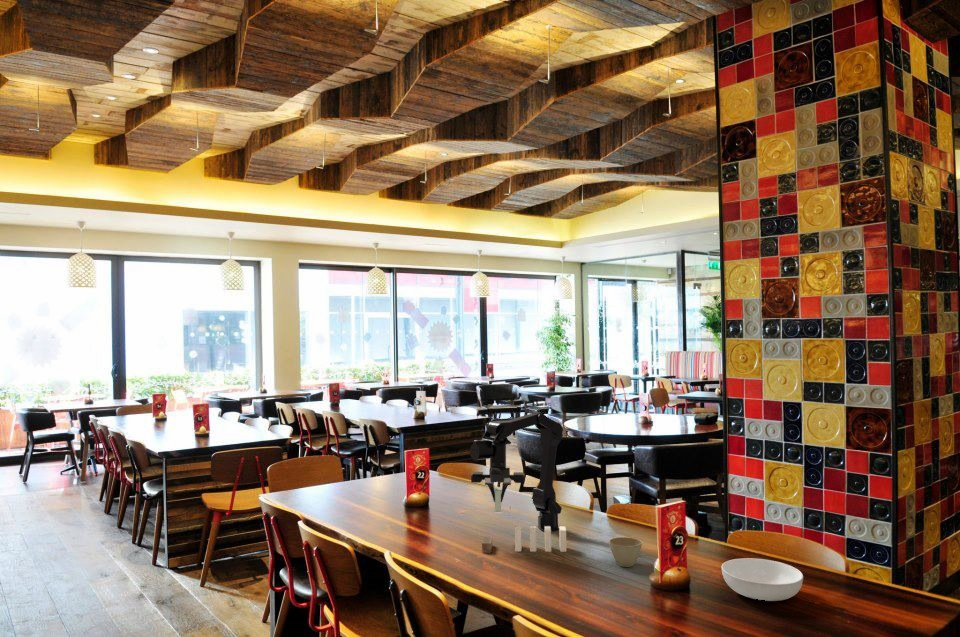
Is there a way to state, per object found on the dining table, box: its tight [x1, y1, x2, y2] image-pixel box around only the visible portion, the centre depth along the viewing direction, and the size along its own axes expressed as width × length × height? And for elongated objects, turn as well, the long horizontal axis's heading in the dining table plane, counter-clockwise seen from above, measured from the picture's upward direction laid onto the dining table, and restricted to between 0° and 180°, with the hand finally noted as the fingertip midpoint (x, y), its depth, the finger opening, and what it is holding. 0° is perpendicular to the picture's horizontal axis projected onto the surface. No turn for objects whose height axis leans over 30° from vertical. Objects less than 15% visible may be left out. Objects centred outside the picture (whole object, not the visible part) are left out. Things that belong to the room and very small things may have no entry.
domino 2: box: [529, 525, 537, 552], centre depth 238 cm, size 2×5×7 cm, turn 176°
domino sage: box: [494, 487, 502, 512], centre depth 249 cm, size 2×5×7 cm, turn 176°
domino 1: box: [514, 525, 522, 552], centre depth 239 cm, size 2×5×7 cm, turn 176°
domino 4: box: [558, 525, 567, 553], centre depth 238 cm, size 2×5×7 cm, turn 176°
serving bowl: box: [720, 557, 804, 602], centre depth 194 cm, size 21×21×7 cm
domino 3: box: [544, 526, 552, 553], centre depth 238 cm, size 2×5×7 cm, turn 176°
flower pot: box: [608, 536, 643, 568], centre depth 221 cm, size 10×10×7 cm
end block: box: [481, 536, 493, 553], centre depth 239 cm, size 3×8×3 cm, turn 176°
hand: (498, 501), depth 249 cm, fingers closed on domino sage, 2 cm apart
